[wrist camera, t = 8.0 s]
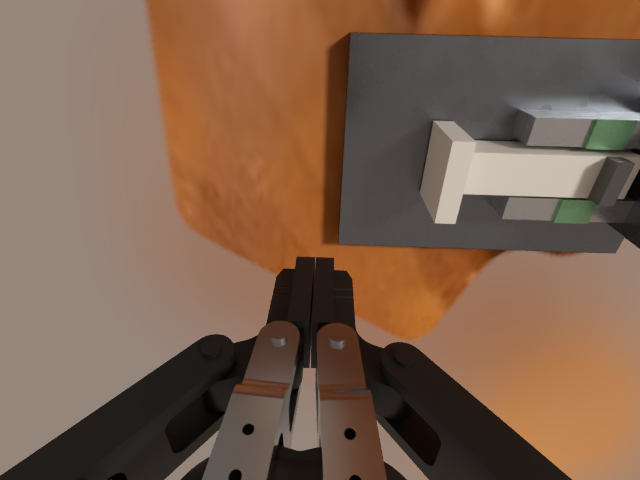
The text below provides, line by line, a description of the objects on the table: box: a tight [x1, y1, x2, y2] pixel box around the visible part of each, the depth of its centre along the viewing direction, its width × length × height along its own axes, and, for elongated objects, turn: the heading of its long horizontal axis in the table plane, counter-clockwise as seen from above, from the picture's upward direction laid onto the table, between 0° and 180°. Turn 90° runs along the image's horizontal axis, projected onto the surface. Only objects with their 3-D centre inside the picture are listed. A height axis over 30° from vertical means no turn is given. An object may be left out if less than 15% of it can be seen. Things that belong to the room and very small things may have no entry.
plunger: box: [420, 121, 640, 224], centre depth 24 cm, size 6×13×5 cm, turn 89°
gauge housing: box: [338, 32, 640, 253], centre depth 24 cm, size 16×24×8 cm, turn 89°
